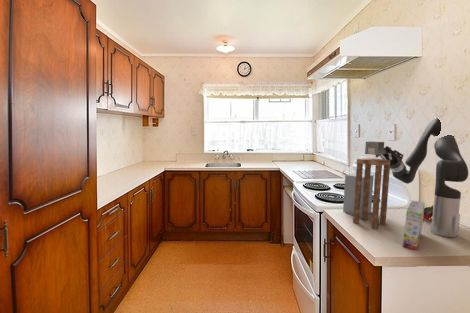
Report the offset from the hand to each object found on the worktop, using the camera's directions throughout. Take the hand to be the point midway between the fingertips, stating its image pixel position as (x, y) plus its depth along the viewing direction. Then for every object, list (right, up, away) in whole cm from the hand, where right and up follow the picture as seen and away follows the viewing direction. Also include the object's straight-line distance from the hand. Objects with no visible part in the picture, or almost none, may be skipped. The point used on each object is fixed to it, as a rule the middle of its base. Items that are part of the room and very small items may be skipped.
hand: (382, 147), depth 137 cm
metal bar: (-2, -3, -1) cm, 4 cm away
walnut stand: (-7, -38, -1) cm, 38 cm away
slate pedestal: (-5, -36, +18) cm, 40 cm away
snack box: (+1, -40, -21) cm, 45 cm away
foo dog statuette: (+26, -38, +6) cm, 46 cm away
